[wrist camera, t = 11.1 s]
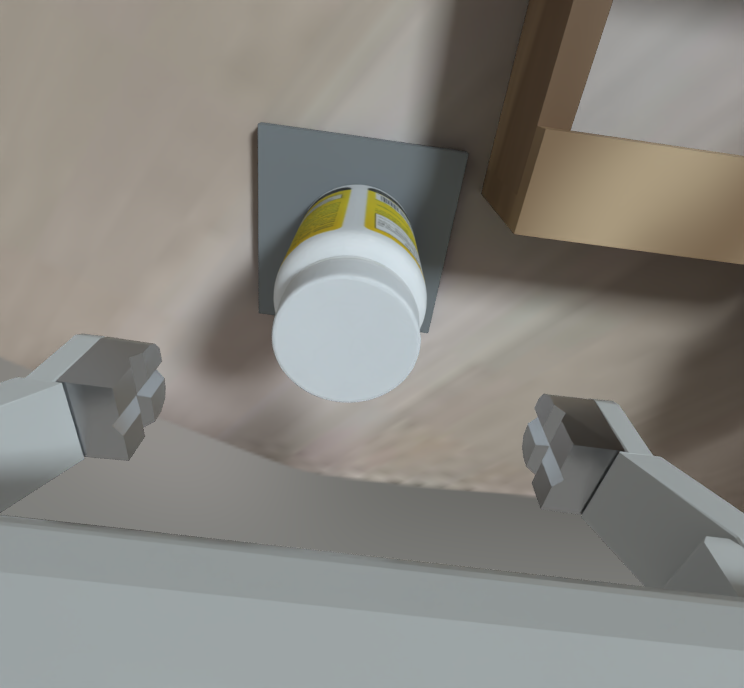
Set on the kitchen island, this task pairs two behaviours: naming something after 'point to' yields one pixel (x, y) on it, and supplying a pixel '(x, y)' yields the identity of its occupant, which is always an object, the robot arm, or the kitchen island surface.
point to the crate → (600, 158)
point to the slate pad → (352, 167)
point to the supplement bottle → (350, 297)
